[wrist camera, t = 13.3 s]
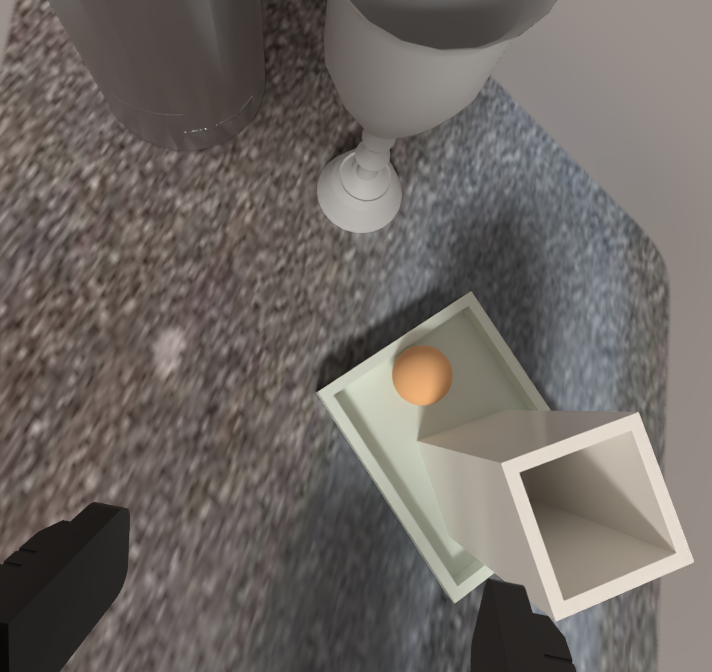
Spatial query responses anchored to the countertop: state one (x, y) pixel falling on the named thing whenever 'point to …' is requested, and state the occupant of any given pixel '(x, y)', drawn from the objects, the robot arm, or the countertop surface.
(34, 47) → the countertop surface
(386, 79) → the chalice
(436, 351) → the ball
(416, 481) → the tray
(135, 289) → the countertop surface
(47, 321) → the countertop surface
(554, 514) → the cup
